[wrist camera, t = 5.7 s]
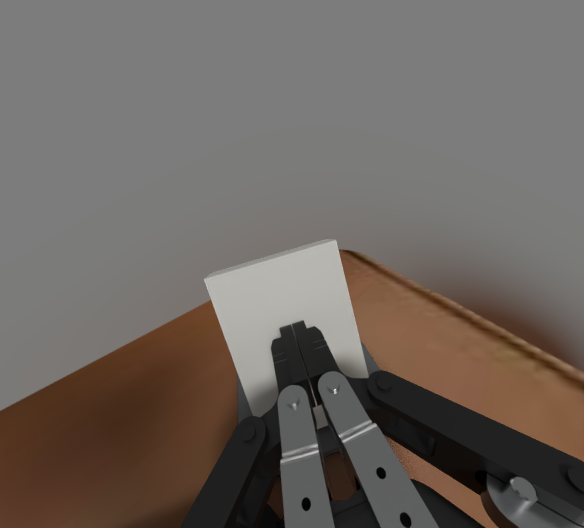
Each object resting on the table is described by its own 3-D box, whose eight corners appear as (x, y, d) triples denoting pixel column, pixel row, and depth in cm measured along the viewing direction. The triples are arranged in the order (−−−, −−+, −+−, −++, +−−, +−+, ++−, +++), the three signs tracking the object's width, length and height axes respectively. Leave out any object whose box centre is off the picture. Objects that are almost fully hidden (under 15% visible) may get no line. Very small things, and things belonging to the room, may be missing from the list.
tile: (376, 406, 15) (335, 240, 13) (265, 449, 15) (203, 279, 13) (361, 384, 18) (324, 238, 16) (264, 421, 17) (212, 272, 15)
